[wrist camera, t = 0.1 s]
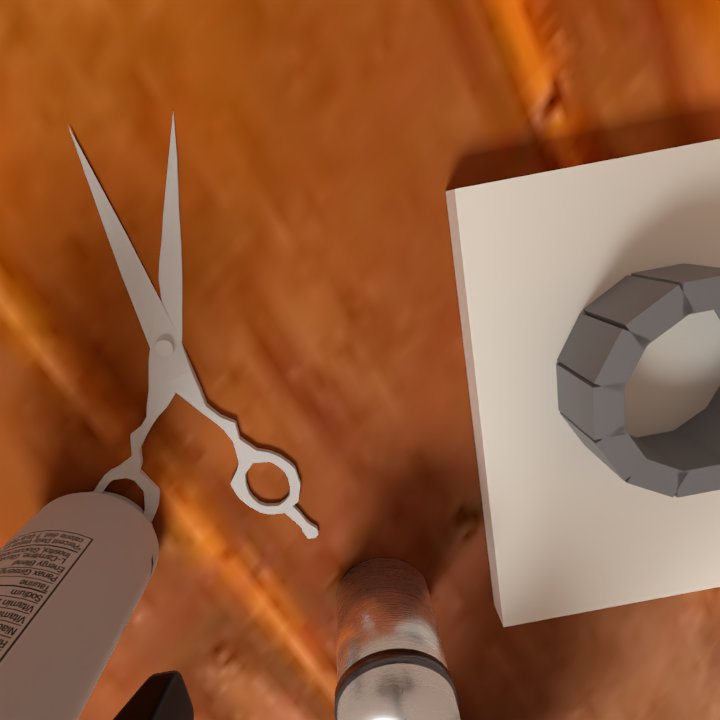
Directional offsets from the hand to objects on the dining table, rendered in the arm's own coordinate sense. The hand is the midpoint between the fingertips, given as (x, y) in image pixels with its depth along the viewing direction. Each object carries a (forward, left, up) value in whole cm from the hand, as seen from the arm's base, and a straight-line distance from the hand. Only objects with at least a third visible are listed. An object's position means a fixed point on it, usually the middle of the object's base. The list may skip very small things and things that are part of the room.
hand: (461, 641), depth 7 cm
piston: (-13, +2, -15) cm, 20 cm away
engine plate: (-4, -12, -14) cm, 19 cm away
